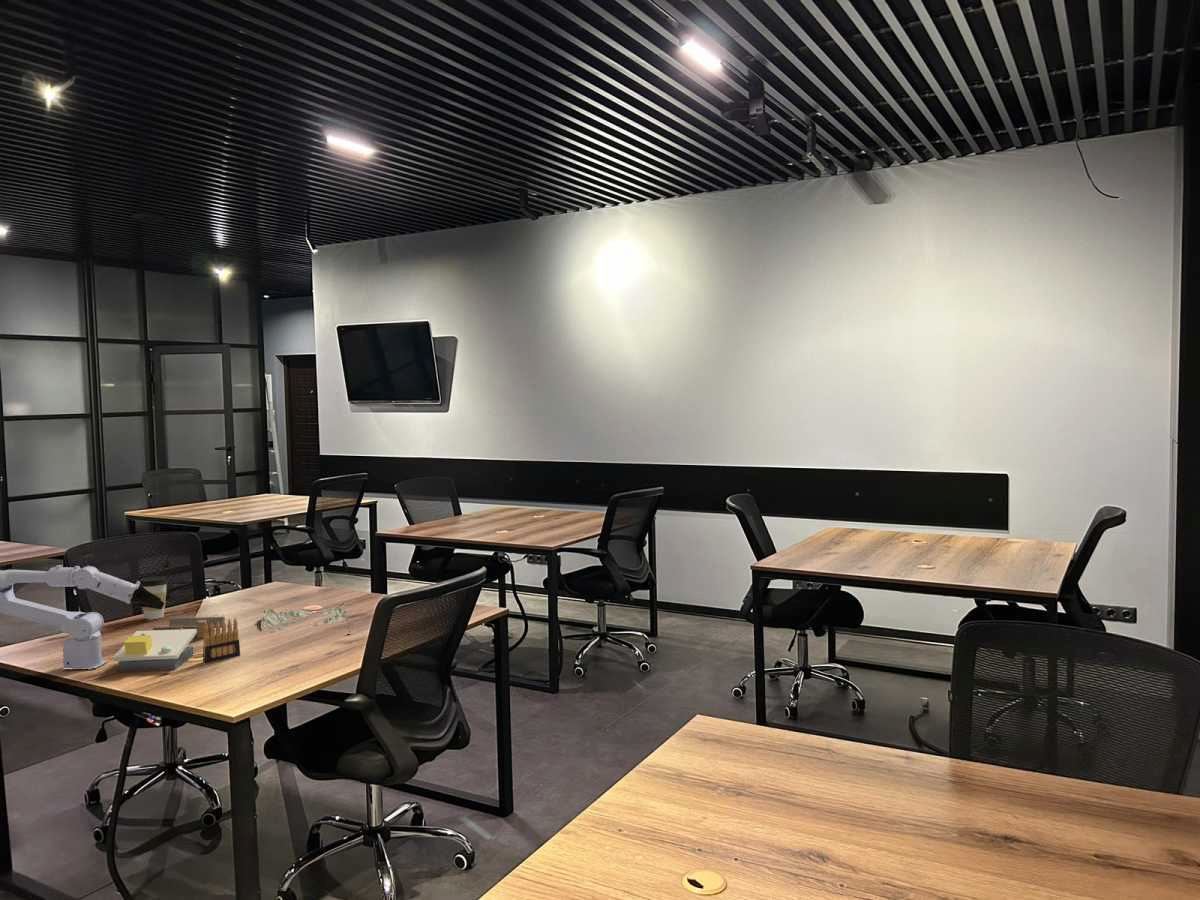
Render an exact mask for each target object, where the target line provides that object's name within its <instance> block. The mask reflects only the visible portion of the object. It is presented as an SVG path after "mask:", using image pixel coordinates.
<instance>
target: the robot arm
mask: <svg viewBox="0 0 1200 900" xmlns="http://www.w3.org/2000/svg"><path fill="white" fill-rule="evenodd" d="M21 583H22V584H23V583H25V584H27V583H46V584H47V585H48V586H49V587H55V588H56V587H59V588H60V587H67V588H68V587H71V588H72V587H77V589H80V590H85V589H89V590H91V591H94V592H96V593H99V594H102V595H105V596H108V597H111V598H113V599H116V600H119V601H121V602H125V603H126V604H131V603H132V604H134V603H135V604H136V603H137V605H136V608H138V609H139V608H141V609H143V608H142V607H148V608H154V609H162V608H163V606H164V604H165V605H166V602H165V603H164V602H162V601H161V599H160V598H159V597H157V596H156V595H154V594H152V593H150V592H149V591H147V590H146V589H145V588H144V587H143V586H142V585H140V580H137V581H136V582H135V583H132V582H130V581H127V580H124V579H121V578H118V577H116V576H113V575H110V574H108V573H104V572H102V571H100V570H99V569H98V568H97V567H96V566H91V565H86V566H83V567H82V568H81V567H80V566H79V565H75V566H74V567H65V566H64V567H63V565H60V564H59V565H56V566H55V567H54V566H53V567H51V568H50V569H49V570H46V571H45V570H29V569H28V570H27V569H5V570H3V569H2V570H1V569H0V614H3V615H6V616H10V617H15V618H19V619H23V620H26V621H30V622H35V623H39V624H42V625H47V626H50V627H54V628H58V629H61V631H62V633H65V634H67V635H70V636H71V637H69V638H66V640H65V641H64V643H63V647H62V657H63V668H72V669H73V668H74V669H76V668H77V669H82V668H83V669H84V668H96V669H98V668H100V667H101V666H103V665H104V663H105V664H106V663H108V662H109V661H108V659H107V660H105V659H103V657H102V656H103V655H102V633H101V631H100V630H102V628H103V626H104V624H105V621H104V618H103V616H102V615H101V614H100V613H98V612H95V611H90V612H83V611H68V610H64V609H60V608H56V607H53V606H49V605H45V604H41V603H37V602H33V601H29V600H25V599H21V598H17V597H16V596H15V593H14V584H21ZM139 585H140V586H139ZM107 661H108V662H107ZM102 664H103V665H102ZM99 666H100V667H99ZM97 667H98V668H97Z"/></svg>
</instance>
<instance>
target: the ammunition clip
mask: <svg viewBox="0 0 1200 900" xmlns="http://www.w3.org/2000/svg"><path fill="white" fill-rule="evenodd" d="M232 624H233V625H232ZM226 626H227V627H226ZM202 649H203V650H202V651H203V652H202V653H203V654H202V662H203V663H205V664H208V663H212V661H213V662H217V660H218V661H222V660H226V658H227V659H230V657H232V658H236V657H235V656H237V657H241V646H240V639H239V629H238V620H237V619H236V617H235V618H234V619H233V623H232V621H231V619H230V618H229V619H228V621H227V625H226V620H225V621H224V620H223V622H222V629H220V624H219V622H218V621H217V624H216V629H214V625H213V623H211V626H210V637H209V631H208V625H207V623H206V624H205V628H204V638H203V647H202Z"/></svg>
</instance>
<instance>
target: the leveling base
mask: <svg viewBox="0 0 1200 900" xmlns="http://www.w3.org/2000/svg"><path fill="white" fill-rule="evenodd" d="M192 656H193V657H194V646H186V648H185V649H184V650H183V652H182V653H181V655H180V656H179V657H178V659H160V660H134V661H117V662H118V663H117V665H118V672H119V671H129V672H150V671H151V672H152V671H154V672H155V671H175V670H177V669H178V668H179V667H181V666H182V665H183V663H184V664H185V663H186V662H188V661H189V660H190V659H191V658H190V657H192ZM193 657H192V658H193ZM189 658H190V659H189ZM188 659H189V660H188ZM187 660H188V661H187Z"/></svg>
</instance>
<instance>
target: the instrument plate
mask: <svg viewBox="0 0 1200 900" xmlns="http://www.w3.org/2000/svg"><path fill="white" fill-rule="evenodd" d="M196 633H197V629H181V630H153V629H152V630H136V631H135V632H134V633H133V634H132V635H129V636H128V637H127V639H125V641H123V645H122V647H121V648H120V649H119V650H118V651H117V652H116V653H115V655H114V656H113V657H112V660H113V662H119V661H134V660H160V659H178V657H179V656H180V655H181V653H182V652H183V650H184V649H185V648H186V647H188V646H189V644H190V643H191V641H192V640H193V639H194V638H195V637H194V636H195V634H196Z"/></svg>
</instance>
